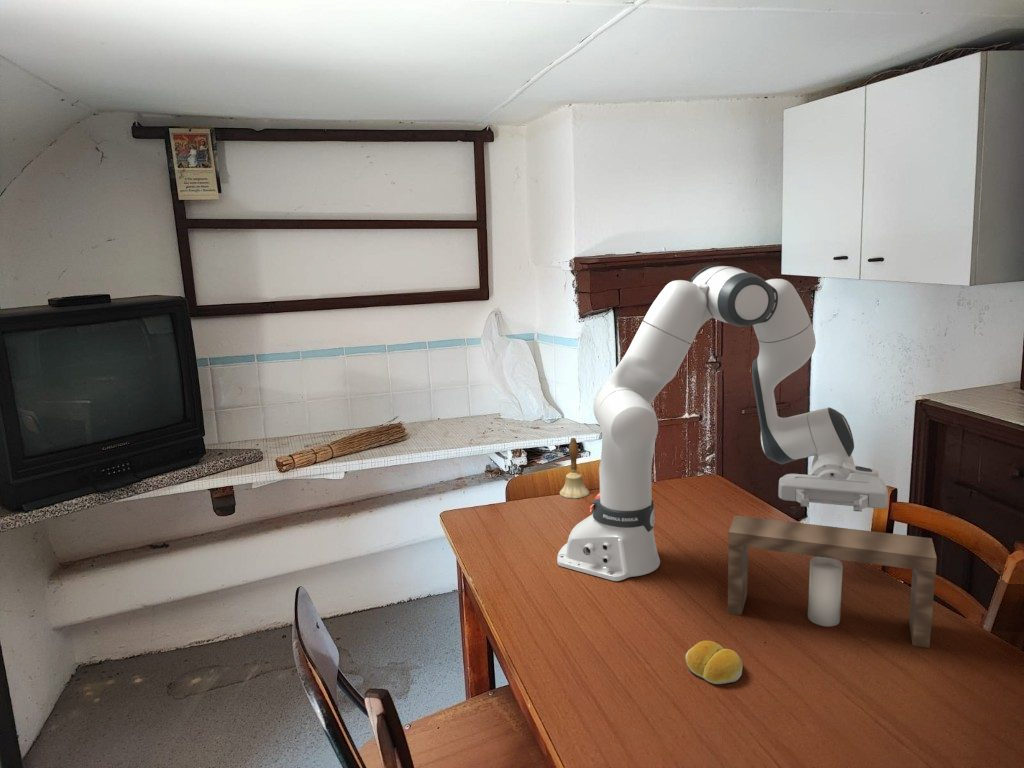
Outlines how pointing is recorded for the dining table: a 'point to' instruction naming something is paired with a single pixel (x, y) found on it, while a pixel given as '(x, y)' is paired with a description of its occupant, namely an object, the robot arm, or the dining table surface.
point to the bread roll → (714, 662)
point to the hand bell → (574, 476)
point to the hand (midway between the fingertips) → (830, 505)
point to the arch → (837, 546)
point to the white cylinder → (825, 591)
